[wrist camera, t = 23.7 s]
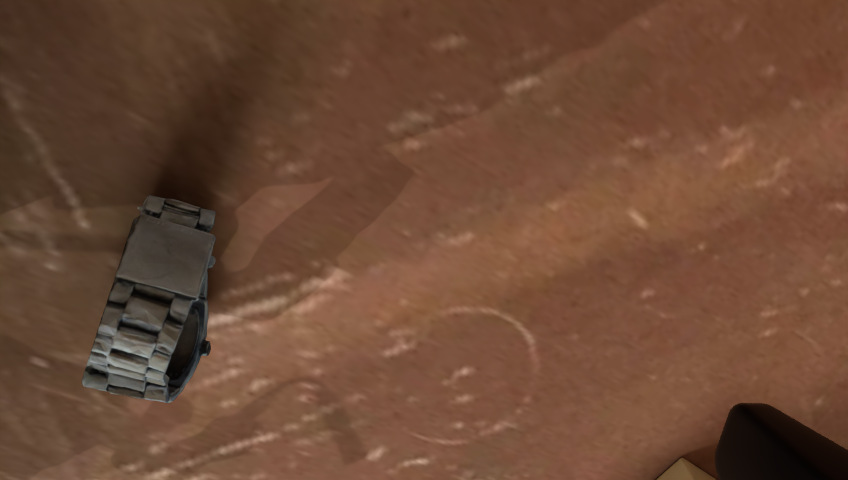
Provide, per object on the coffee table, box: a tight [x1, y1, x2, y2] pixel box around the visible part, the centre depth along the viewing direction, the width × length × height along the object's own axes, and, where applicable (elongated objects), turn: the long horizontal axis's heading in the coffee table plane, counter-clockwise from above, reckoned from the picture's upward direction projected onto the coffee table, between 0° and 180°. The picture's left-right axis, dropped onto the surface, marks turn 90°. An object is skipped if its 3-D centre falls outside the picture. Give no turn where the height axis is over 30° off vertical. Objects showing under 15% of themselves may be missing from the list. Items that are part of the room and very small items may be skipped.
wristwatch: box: [82, 195, 216, 403], centre depth 19 cm, size 3×5×5 cm
